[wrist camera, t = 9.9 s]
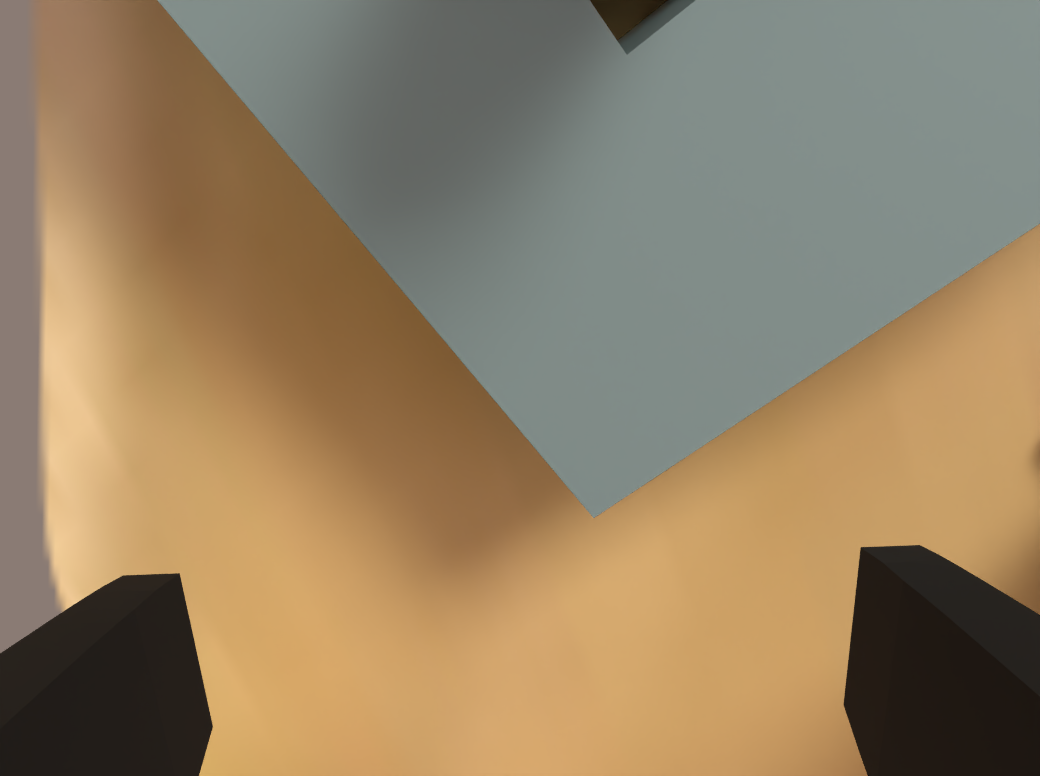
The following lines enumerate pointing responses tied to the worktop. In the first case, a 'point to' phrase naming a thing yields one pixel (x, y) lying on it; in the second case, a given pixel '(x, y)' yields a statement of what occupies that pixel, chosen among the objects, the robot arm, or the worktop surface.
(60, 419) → the worktop surface
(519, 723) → the worktop surface
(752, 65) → the hole block
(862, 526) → the worktop surface
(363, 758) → the worktop surface
